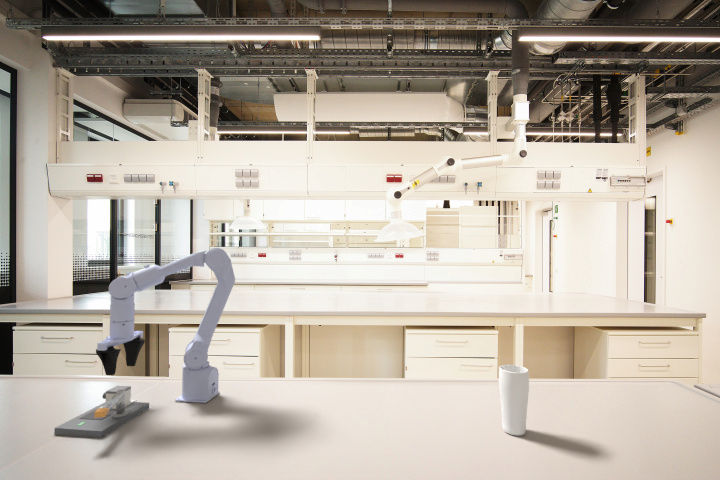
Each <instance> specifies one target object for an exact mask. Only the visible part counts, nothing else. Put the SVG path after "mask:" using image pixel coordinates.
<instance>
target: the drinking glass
mask: <svg viewBox="0 0 720 480" xmlns="http://www.w3.org/2000/svg"><path fill="white" fill-rule="evenodd" d="M529 388H530V373H529V369H528V368H527V367H524V366H522V365H516V364H502V365H500V366H498V389H499V390H498V392H499V401H500V410H501V413H500V414H501V427H502V430H503V431H504V433H507V434H508V435H511V436H516V437H517V436H523V435H525V434H526V433H527V418H528V417H527V414H528V403H529V392H530V389H529Z"/></svg>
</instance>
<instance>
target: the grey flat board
mask: <svg viewBox="0 0 720 480" xmlns="http://www.w3.org/2000/svg"><path fill="white" fill-rule="evenodd" d="M105 404H106V401H105V402H103V403H101V404H98V406H95V407H93V408H91V409H89V410H87V411H85V412H83V413H82V414H79V415H77V416H75V417H74V418H71V419H69V420H68V421H65V422H64V423H61V424H60V425H57V426H55V427H54V431H53V433H54V435H55V436H56V435H59V436H72V437H82V438H83V437H84V438H95V439H96V438H97V439H102V438H104V437H105V436H107V435H108V434H110V433H112V432H114V431H115V430H117V429H118V428H120V427H122V426H123V425H124V424H126V423H128V422H130V421H131V420H133V419H135V418H136V417H138V416H139V415H141V414H142V413H144V412H146V411H147V410H149V409H150V402H143V401H141V402H140V401H138V399H131V401H130V402H128V403H127V404H125V412H124V413H122V414H116V407H112V408H111V409H110V410H109V413H108V414H107V415H106V416H105V417H98V418H95V411H96V410H97V409H99V408H102V407H103V406H104V405H105Z"/></svg>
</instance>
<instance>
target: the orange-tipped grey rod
mask: <svg viewBox="0 0 720 480" xmlns="http://www.w3.org/2000/svg"><path fill="white" fill-rule="evenodd" d="M115 403H116V414H122V413H124V412H125V390H124V389H122V390H118V391H117V393H116V394H115V395H114V396H113V397H112V398H111V399H110V400H109V401H108V402H107V403H106V404H105V405H104V406H103V407H102V408H99V409H97V410H96V411H95V418H98V417H105V416H106V415H107V414H108V413H109V410H110V409H111V408H112V407H113V405H114V404H115Z"/></svg>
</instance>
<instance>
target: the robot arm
mask: <svg viewBox="0 0 720 480" xmlns="http://www.w3.org/2000/svg"><path fill="white" fill-rule="evenodd" d="M205 264H206V266H207V267H208V269H210V270H211V271H212V273H214V276H215V278H216V280H217V283H216V286H215V288H214V290H213V292H212V295H211V297H210V300H209V303H208V304H207V307H206V309H205V310H204V311H205V312H204V314H203V316H202V319H201V321H200V324H199V326H198V328H197V331H196V332H195V335H194V336H193V339H192V340H191V341H190V342H188V344H187V345H186V347H185V353H184V356H183V365H182V369H181V370H182V376H181V378H182V379H181V380H182V381H181V383H182V384H181V395H179V396H178V397H176V398H175V399H174V402H185V403H188V402H189V403H203V404H204V403H208V402H209V401H210V400H212V399H213V398H214V397H216V396H217V395H218V394H219V393H220V390H219V375H220V373H219V369H218V368H217V366H212V365H210V362H209V361H208V358H209V357H208V356H209V355H208V354H209V353H208V352H209V347H210V345H211V342H212V339H213V336H214V333H215V332H216V329H217V326H218V323H219V322H220V319H221V316H222V314H223V311H224V309H225V307H226V304H227V302H228V299H229V297H230V295H231V292H232V290H233V287H234V285H235V282H236V277H235V272H234V268H233V264H232V259H231V258H230V256H229V255H228V253H227V252H226V251H225V250H224V249H222V248H220V247H213V248H210V249H209V250H208V251H207V250H202V251H198V252H195V253H194V252H193V253H191V254H188V255H186V256H184V257H181V258H179V259H176V260H174V261H172V262H168V263H167V264H164V265H161V266H160V265H158V264H155V263H154V264H152V265H150V263H149V264H146V265H144V268H141V269H138V270H136V271H133V272H131V271H129V272H126V273H125V274H126V276H119V277H117V278H115V279H113V280H112V281H111V282H110V284H109V286H108V293H109V294H110V305H109V311H110V312H109V335H108V336H106V338H105V339H104V340H102V341H99V342H97V346H96V347H97V348H96V349H95V354H96V355H97V356H98V358H99V359H100V361H101V362H102V363H101V364H102V366H103V369H104V372H105V376H115V374H116V371H117V363H118V358H119V355H120V352H121V351H122V349H121V348H115V347H117V346H121V345H123V348H124V351H125V362H126V363H125V364H126V366H127V367H135V366H136V364H137V360H138V357H139V354H140V352H141V349H142V347H143V346H144V344H145V341H146V339H144V330H135V316H136V315H135V312H136V310H135V307H136V305H135V293H136V292H139V293H140V292H143V291H145V290H148V289H151V288H153V287H155V286H157V285H159V284H163V283H164V281H165V278H166V277H168V276H170V275H173V274H175V273H178V272H180V271H183V270H187V269H189V268H192V267H200V268H201V267H205Z"/></svg>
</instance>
